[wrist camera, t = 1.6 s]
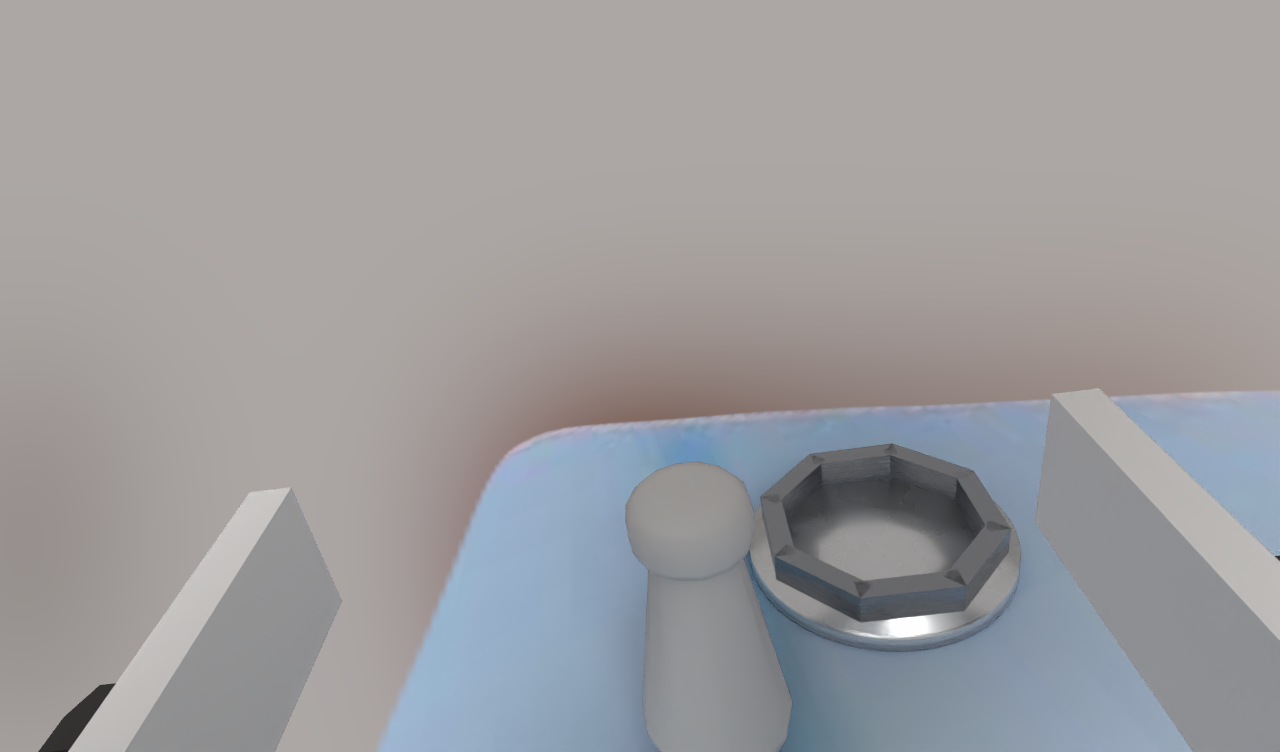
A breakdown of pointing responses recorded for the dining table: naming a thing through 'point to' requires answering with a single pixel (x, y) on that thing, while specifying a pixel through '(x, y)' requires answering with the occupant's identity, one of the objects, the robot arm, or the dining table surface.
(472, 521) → the dining table surface
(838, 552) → the steel collar
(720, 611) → the salt shaker
